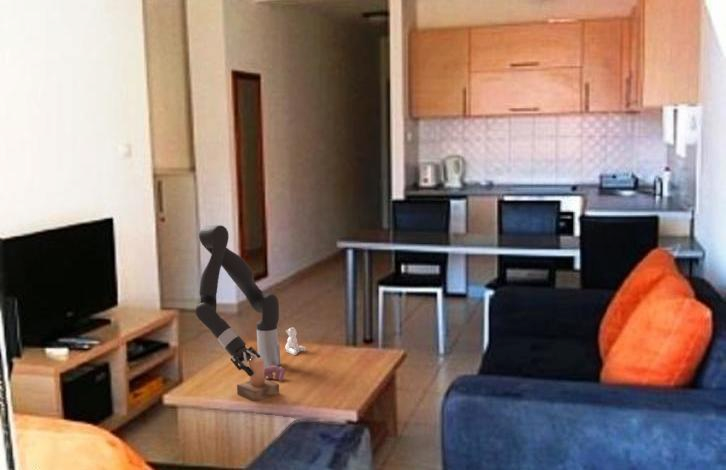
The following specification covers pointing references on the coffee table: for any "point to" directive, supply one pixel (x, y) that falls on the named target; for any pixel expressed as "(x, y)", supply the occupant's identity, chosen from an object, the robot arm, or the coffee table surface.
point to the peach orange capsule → (257, 372)
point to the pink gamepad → (276, 369)
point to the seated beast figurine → (293, 342)
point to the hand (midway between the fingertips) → (257, 371)
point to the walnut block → (258, 390)
